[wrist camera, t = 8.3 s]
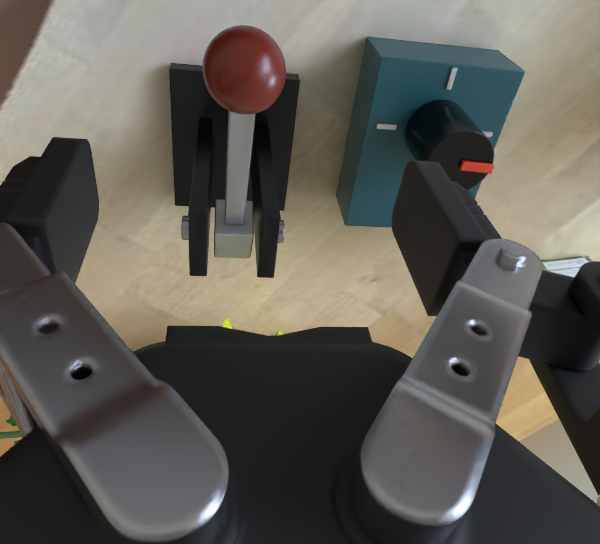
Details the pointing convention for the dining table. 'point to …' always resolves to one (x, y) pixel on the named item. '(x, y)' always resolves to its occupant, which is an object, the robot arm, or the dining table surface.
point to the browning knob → (450, 142)
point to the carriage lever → (240, 122)
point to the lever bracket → (213, 161)
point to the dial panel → (402, 105)
